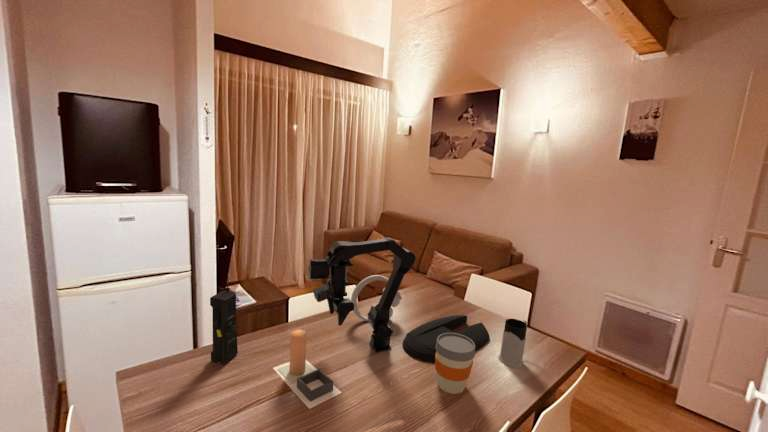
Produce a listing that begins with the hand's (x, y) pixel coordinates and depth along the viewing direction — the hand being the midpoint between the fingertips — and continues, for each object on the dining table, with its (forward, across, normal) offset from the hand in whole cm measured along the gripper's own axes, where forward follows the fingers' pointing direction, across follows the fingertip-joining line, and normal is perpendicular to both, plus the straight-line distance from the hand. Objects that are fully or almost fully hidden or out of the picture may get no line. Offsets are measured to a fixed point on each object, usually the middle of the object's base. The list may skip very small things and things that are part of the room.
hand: (335, 319), depth 122 cm
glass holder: (+13, +26, +63) cm, 69 cm away
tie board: (+13, +13, -14) cm, 23 cm away
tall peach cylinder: (+12, +8, -15) cm, 21 cm away
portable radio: (+13, -9, -36) cm, 39 cm away
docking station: (+14, +6, +45) cm, 48 cm away
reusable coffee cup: (+13, +30, +30) cm, 44 cm away
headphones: (+13, -18, +25) cm, 34 cm away
